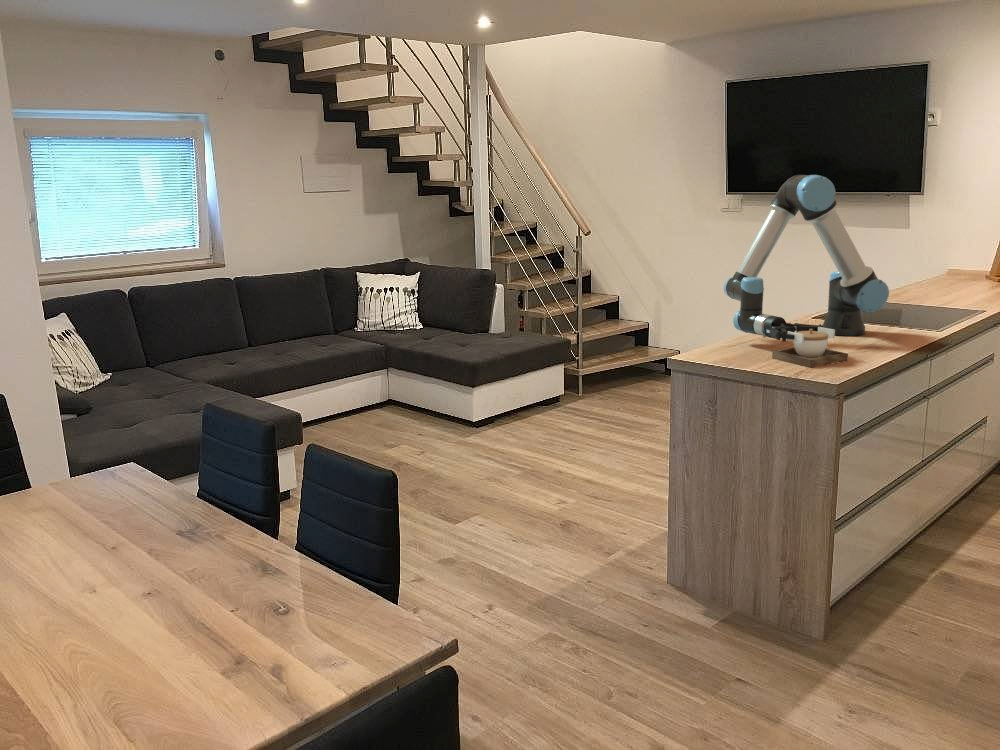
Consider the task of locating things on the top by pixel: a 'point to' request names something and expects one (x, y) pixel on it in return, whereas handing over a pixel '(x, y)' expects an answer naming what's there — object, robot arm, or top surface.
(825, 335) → the lidded jar
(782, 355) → the tray
